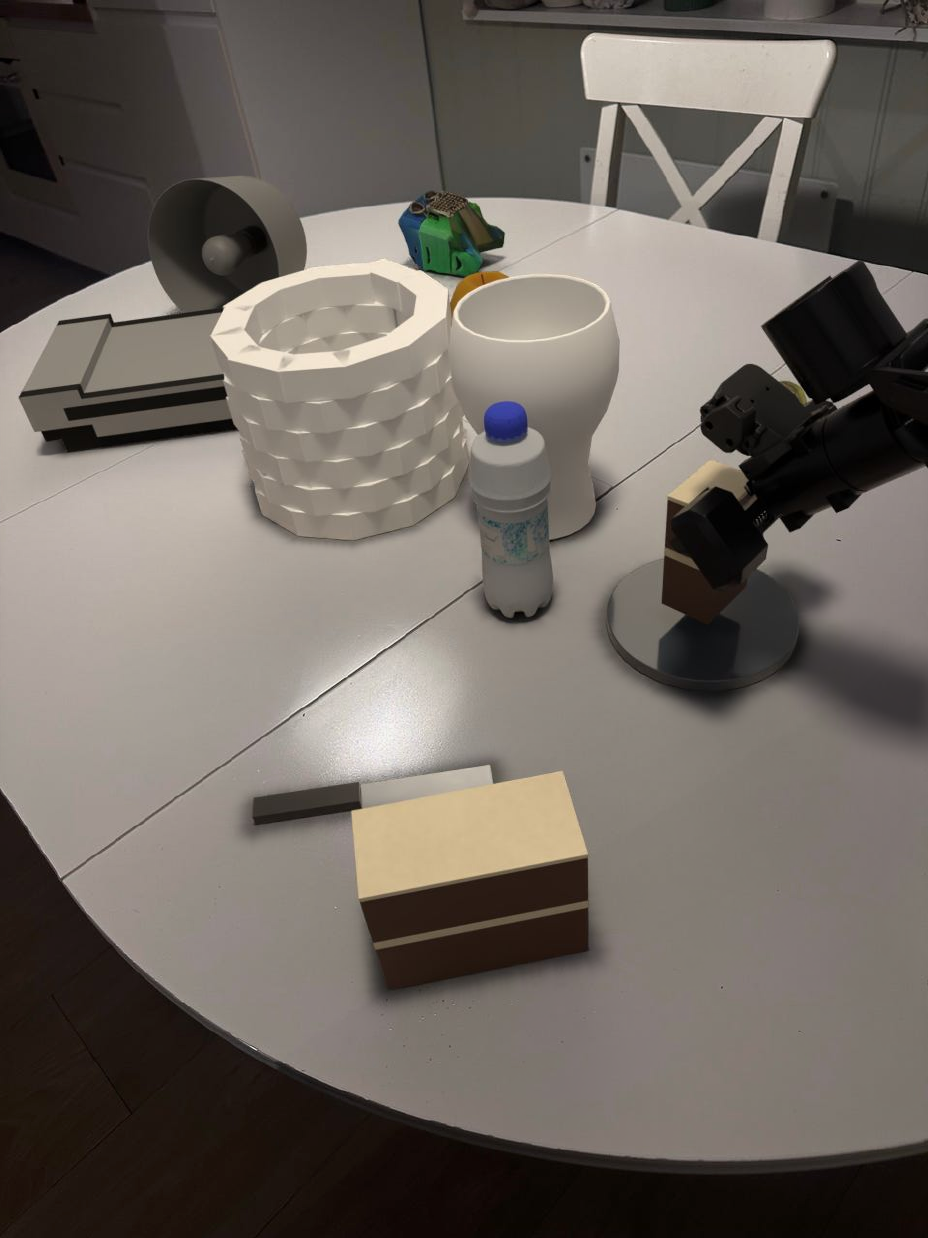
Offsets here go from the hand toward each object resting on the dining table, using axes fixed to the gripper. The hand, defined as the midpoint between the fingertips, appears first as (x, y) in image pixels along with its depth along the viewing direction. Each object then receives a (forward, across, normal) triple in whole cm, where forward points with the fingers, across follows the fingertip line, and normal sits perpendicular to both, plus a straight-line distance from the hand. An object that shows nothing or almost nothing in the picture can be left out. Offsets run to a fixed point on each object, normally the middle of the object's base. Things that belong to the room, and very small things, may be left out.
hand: (695, 526), depth 74 cm
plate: (+6, 0, +8) cm, 10 cm away
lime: (+13, -32, +1) cm, 35 cm away
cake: (+3, +33, +11) cm, 35 cm away
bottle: (+16, +7, -2) cm, 18 cm away
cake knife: (+12, +31, +2) cm, 33 cm away
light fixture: (+72, -24, -59) cm, 96 cm away
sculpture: (+57, -47, -43) cm, 86 cm away
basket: (+36, +1, -22) cm, 42 cm away
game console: (+58, +2, -45) cm, 74 cm away
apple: (+39, -26, -25) cm, 54 cm away
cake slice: (+4, 0, +6) cm, 7 cm away
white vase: (+22, -5, -8) cm, 23 cm away
